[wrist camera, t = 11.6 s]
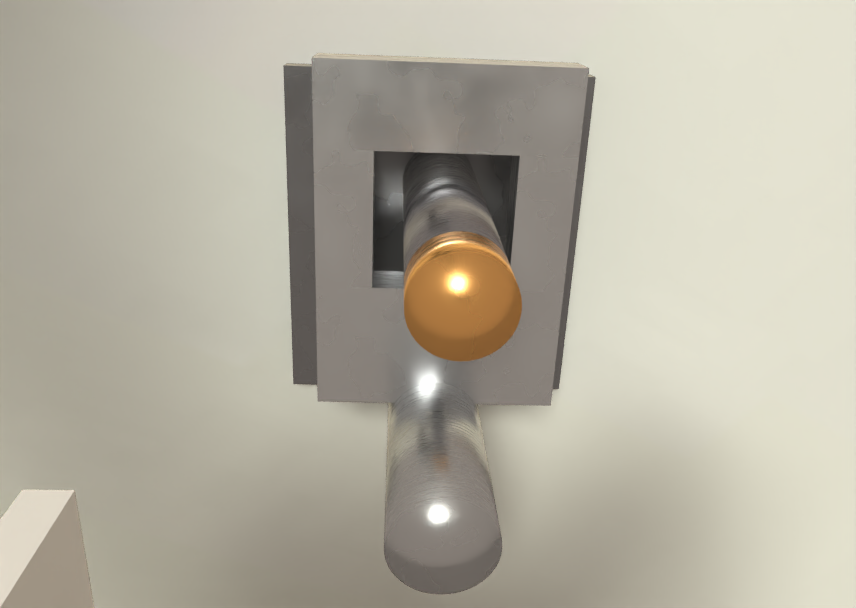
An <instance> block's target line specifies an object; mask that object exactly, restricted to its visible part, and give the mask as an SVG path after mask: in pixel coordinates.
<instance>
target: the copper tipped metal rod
mask: <svg viewBox="0 0 856 608" xmlns="http://www.w3.org/2000/svg"><path fill="white" fill-rule="evenodd" d="M403 242H404V315H405V321H406V324H407V327H408V329H409V331H410V333H411V335H412V336H413V338H414V339H415V341H416V342H417V343H418V344H419V345H420V346H421V347H422V348H424V349H425V350H426V351H428V352H429V353H431V354H433V355H435V356H437V357H440V358H443V359H446V360H451V361H471V360H476V359H480V358H483V357H486V356H488V355H490V354H492V353H494V352H495V351H497V350H498V349H500V348H501V347H502V346H503V345H504V344H505V343H506V342H507V341H508V340H509V339H510V338H511V337H512V335H513V334H514V332H515V330H516V328H517V326H518V324H519V321H520V318H521V312H522V298H521V293H520V289H519V287H518V284H517V282H516V279H515V276H514V274H513V271H512V269H511V266H510V263H509V261H508V258H507V256H506V253H505V250H504V248H503V245H502V243H501V240H500V237H499V235H498V232H497V230H496V227H495V225H494V222H493V219H492V217H491V214H490V212H489V209H488V206H487V204H486V201H485V199H484V196H483V193H482V191H481V188H480V186H479V183H478V181H477V178H476V175H475V173H474V170H473V168H472V165H471V163H470V162H469V160H468V159H467V158H466V156H465V155H464V154H454V153H424V152H417V153H416V154H415V155H414V156H413V157H412V158H411V159H410V161H409V162H408V164H407V166H406V168H405V171H404V175H403Z"/></svg>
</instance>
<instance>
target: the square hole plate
mask: <svg viewBox="0 0 856 608" xmlns="http://www.w3.org/2000/svg"><path fill="white" fill-rule="evenodd" d="M588 74H589V68H588V67H585V66H583V65H581V64H579V63H565V62H539V61H513V60H487V59H461V58H434V57H408V56H382V55H356V54H330V53H317V54H316V55H314V56H313V57H312V64H293V63H286V64H285V65H284V93H285V125H286V157H287V189H288V222H289V254H290V286H291V318H292V350H293V382H294V384H317V387H318V401H330V402H385V403H388V433H387V466H386V499H385V533H384V554H385V559H386V562H387V564H388V566H389V568H390V570H391V571H392V573H393V574H394V575H395V576H396V577H397V578H398V579H399V580H400V581H401V582H403V583H404V584H406V585H407V586H409V587H411V588H413V589H416V590H418V591H422V592H425V593H431V594H451V593H457V592H461V591H464V590H467V589H470V588H472V587H474V586H476V585H477V584H479V583H480V582H482V581H483V580H484V579H486V578H487V577H488V576H489V575H490V574H491V573H492V571H493V570H494V569H495V567H496V566H497V564H498V562H499V559H500V556H501V552H502V538H501V532H500V527H499V521H498V516H497V510H496V505H495V499H494V494H493V488H492V483H491V477H490V472H489V466H488V460H487V455H486V449H485V444H484V438H483V433H482V427H481V422H480V416H479V411H478V405H477V404H496V405H551V397H552V389H559V382H560V374H561V365H562V357H563V348H564V340H565V331H566V323H567V314H568V306H569V297H570V289H571V280H572V272H573V263H574V255H575V246H576V238H577V230H578V221H579V213H580V204H581V196H582V187H583V179H584V170H585V162H586V153H587V145H588V136H589V128H590V119H591V111H592V102H593V94H594V86H595V77H594V76H592V75H588ZM417 152H424V153H454V154H464V155H465V156H466V158H467V159H468V160H469V162H470V163H471V165H472V168H473V170H474V173H475V175H476V178H477V181H478V183H479V186H480V188H481V191H482V193H483V196H484V199H485V201H486V204H487V206H488V209H489V212H490V214H491V217H492V219H493V222H494V225H495V227H496V230H497V232H498V235H499V237H500V240H501V243H502V245H503V248H504V250H505V253H506V256H507V258H508V261H509V263H510V266H511V269H512V271H513V274H514V276H515V279H516V282H517V284H518V287H519V289H520V293H521V298H522V312H521V318H520V321H519V324H518V326H517V328H516V330H515V332H514V334H513V335H512V337H511V338H510V339H509V340H508V341H507V342H506V343H505V344H504V345H503V346H502V347H501V348H500V349H498V350H497V351H495V352H494V353H492V354H490V355H488V356H486V357H483V358H480V359H476V360H471V361H451V360H446V359H443V358H440V357H437V356H435V355H433V354H431V353H429V352H428V351H426V350H425V349H424V348H422V347H421V346H420V345H419V344H418V343H417V342H416V341H415V339H414V338H413V336H412V335H411V333H410V331H409V329H408V327H407V324H406V321H405V315H404V242H403V175H404V171H405V168H406V166H407V164H408V162H409V161H410V159H411V158H412V157H413V156H414V155H415V154H416V153H417Z"/></svg>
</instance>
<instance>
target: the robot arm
mask: <svg viewBox="0 0 856 608" xmlns="http://www.w3.org/2000/svg"><path fill="white" fill-rule="evenodd" d="M0 608H94V603H93V597H92V591H91V585H90V579H89V573H88V567H87V561H86V555H85V549H84V543H83V537H82V531H81V525H80V519H79V513H78V507H77V501H76V495H75V490H22V491H21V492H20V493H19V495H18V496H17V497H16V499H15V500H14V501H13V503H12V504H11V506H10V507H9V508H8V510H7V511H6V512H5V514H4V515H3V516H2V518H1V519H0Z"/></svg>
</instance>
